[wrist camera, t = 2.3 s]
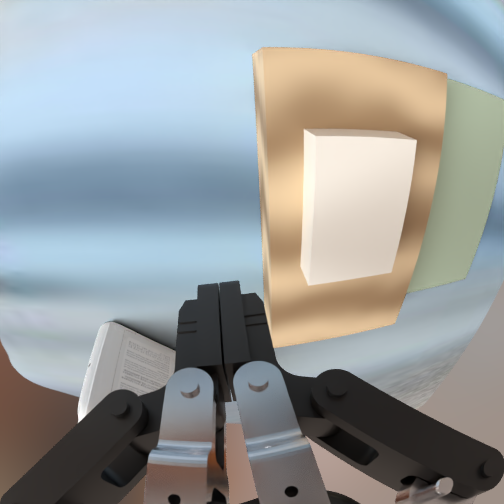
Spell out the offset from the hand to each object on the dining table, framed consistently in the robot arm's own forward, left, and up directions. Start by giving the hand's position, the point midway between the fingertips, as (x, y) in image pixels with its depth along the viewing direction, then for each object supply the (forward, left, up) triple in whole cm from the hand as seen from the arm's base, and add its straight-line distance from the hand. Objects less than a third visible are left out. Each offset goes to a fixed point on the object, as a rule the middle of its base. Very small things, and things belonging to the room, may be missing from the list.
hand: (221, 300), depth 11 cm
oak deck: (+2, +9, -11) cm, 14 cm away
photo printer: (+16, -10, -11) cm, 22 cm away
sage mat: (+2, +22, -11) cm, 25 cm away
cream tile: (0, +8, -7) cm, 11 cm away
